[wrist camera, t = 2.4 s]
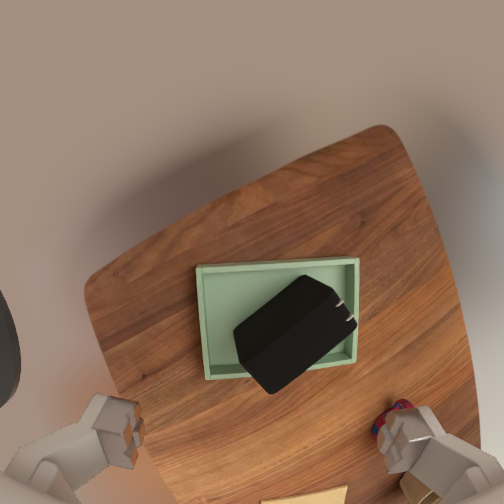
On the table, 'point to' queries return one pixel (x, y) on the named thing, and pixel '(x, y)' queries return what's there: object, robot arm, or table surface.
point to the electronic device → (292, 332)
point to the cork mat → (314, 497)
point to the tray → (258, 294)
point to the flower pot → (417, 491)
